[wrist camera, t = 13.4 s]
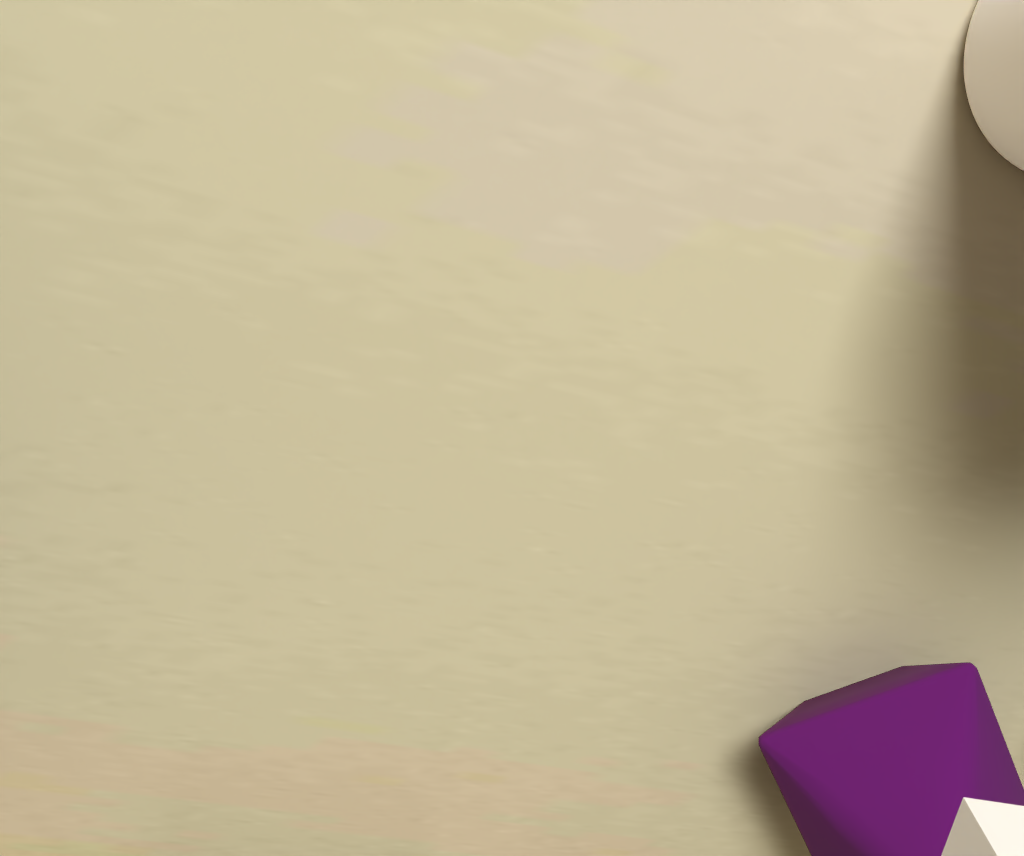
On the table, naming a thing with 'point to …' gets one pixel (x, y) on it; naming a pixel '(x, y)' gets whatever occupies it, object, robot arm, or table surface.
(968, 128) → the table surface
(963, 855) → the robot arm
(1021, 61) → the pill bottle
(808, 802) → the perfume bottle
